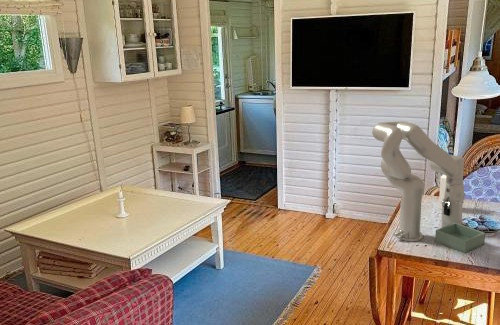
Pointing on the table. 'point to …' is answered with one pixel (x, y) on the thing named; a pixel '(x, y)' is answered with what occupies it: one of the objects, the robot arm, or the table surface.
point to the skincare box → (453, 214)
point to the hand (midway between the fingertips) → (452, 212)
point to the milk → (442, 190)
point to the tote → (460, 237)
